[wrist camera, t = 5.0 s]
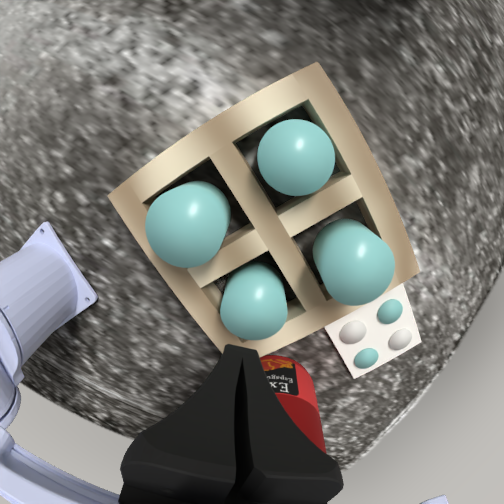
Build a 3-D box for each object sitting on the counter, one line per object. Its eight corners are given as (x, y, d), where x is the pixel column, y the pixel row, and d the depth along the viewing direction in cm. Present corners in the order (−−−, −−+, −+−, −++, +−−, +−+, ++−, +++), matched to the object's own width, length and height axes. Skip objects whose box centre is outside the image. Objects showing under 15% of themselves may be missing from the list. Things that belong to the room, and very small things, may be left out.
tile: (353, 376, 24) (354, 380, 24) (323, 324, 22) (324, 328, 22) (419, 339, 23) (422, 342, 22) (400, 280, 21) (403, 283, 20)
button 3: (329, 289, 19) (342, 317, 15) (301, 239, 18) (310, 259, 14) (381, 259, 18) (403, 282, 15) (357, 206, 17) (379, 220, 14)
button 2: (189, 257, 18) (174, 280, 15) (153, 204, 17) (130, 217, 14) (243, 225, 18) (240, 242, 14) (207, 167, 16) (194, 172, 13)
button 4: (278, 199, 19) (282, 209, 15) (245, 145, 17) (242, 143, 14) (332, 168, 18) (348, 172, 14) (301, 114, 17) (310, 105, 13)
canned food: (291, 338, 23) (306, 455, 12) (324, 395, 25) (344, 494, 15) (210, 369, 24) (188, 477, 14) (253, 419, 26) (249, 513, 16)
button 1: (245, 320, 22) (243, 349, 18) (215, 278, 21) (207, 302, 17) (293, 296, 21) (299, 322, 18) (265, 250, 20) (265, 271, 16)
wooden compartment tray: (237, 348, 23) (235, 368, 21) (124, 190, 19) (107, 195, 17) (405, 259, 20) (420, 271, 18) (310, 72, 16) (317, 61, 14)
